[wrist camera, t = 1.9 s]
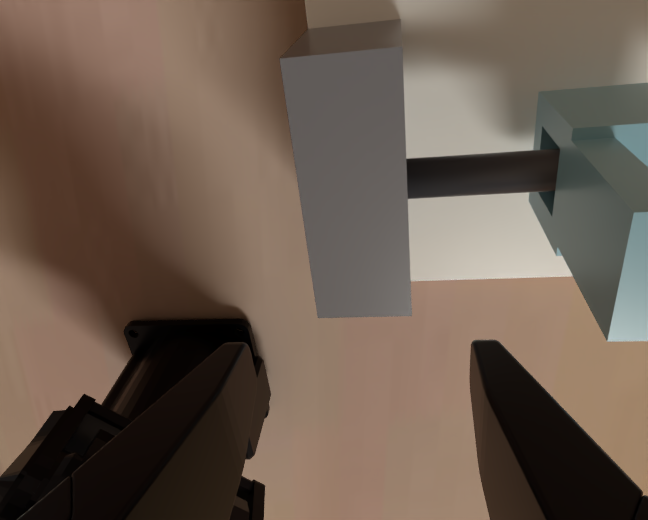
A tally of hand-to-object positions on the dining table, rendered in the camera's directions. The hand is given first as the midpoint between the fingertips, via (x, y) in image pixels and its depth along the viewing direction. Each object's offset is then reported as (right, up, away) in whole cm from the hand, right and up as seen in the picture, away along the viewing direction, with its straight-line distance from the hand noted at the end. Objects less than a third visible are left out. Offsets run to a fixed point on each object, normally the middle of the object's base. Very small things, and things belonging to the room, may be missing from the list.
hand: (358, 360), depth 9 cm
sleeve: (+8, +5, +7) cm, 12 cm away
